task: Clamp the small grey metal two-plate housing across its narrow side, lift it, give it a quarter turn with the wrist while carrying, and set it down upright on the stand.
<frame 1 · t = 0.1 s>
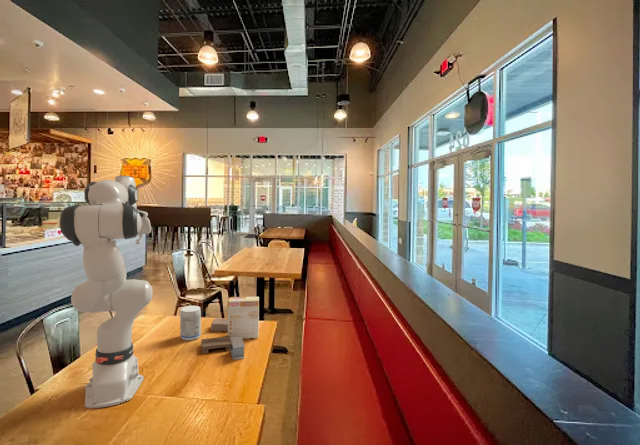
hand: (125, 244, 156), 48 cm above the table, fingers open, 8 cm apart
stand: (216, 347, 164), on the table
housing: (237, 355, 157), on the table
supplement tub: (190, 337, 175), on the table
coffeecake box: (243, 336, 178), on the table
brick: (228, 329, 187), on the table
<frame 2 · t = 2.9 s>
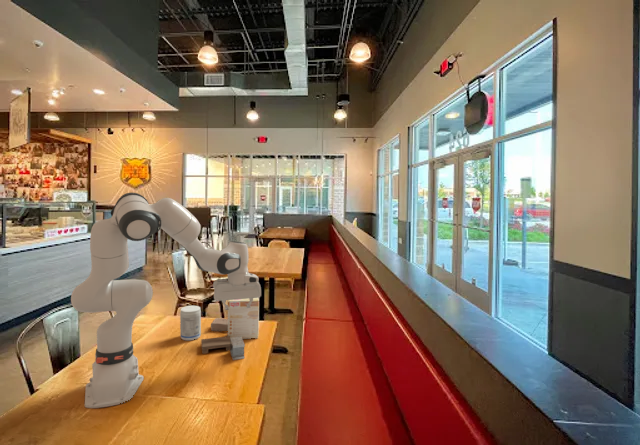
hand: (237, 308, 155), 21 cm above the table, fingers open, 8 cm apart
nothing on the table moved.
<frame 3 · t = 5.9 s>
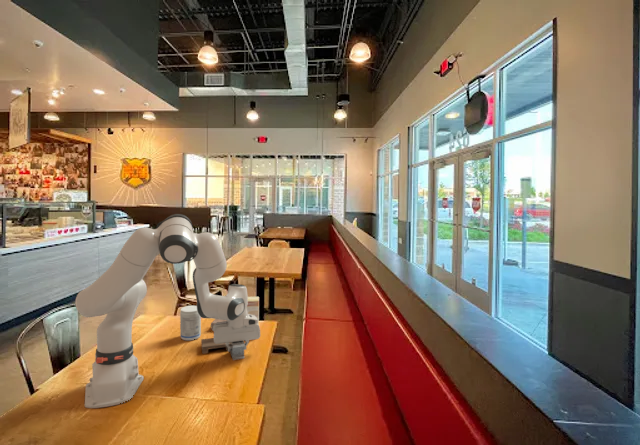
hand: (237, 350, 157), 2 cm above the table, fingers closed on housing, 5 cm apart
housing: (237, 354, 157), on the table, touching gripper
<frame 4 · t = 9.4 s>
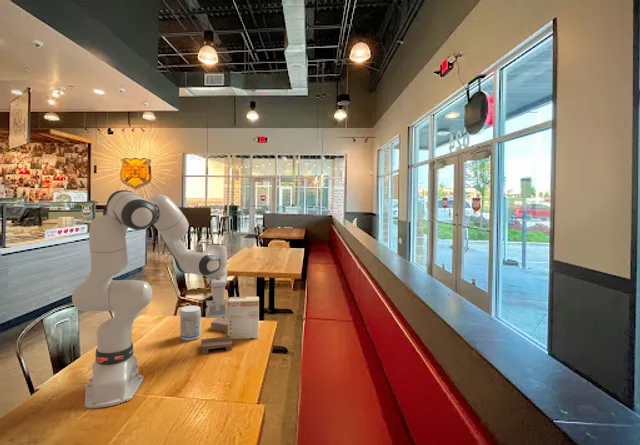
hand: (216, 308, 162), 19 cm above the table, fingers closed on housing, 5 cm apart
housing: (216, 315, 162), point 15 cm above the table, touching gripper
when the fingers open (7 cm above the table, at t = 12.5 s): housing stays where it is, resting on stand.
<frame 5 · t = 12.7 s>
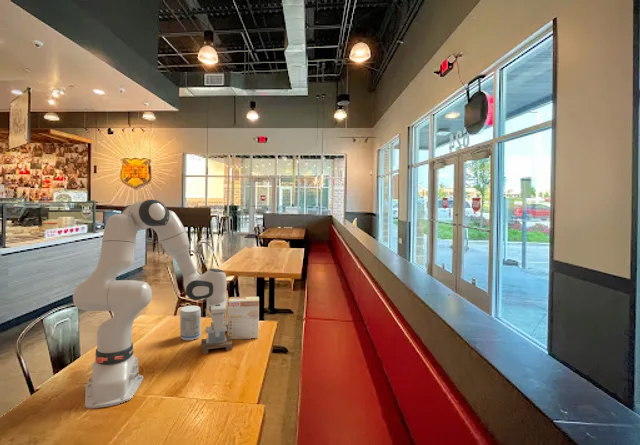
hand: (216, 332, 163), 7 cm above the table, fingers open, 6 cm apart
housing: (216, 341, 164), point 3 cm above the table, touching stand
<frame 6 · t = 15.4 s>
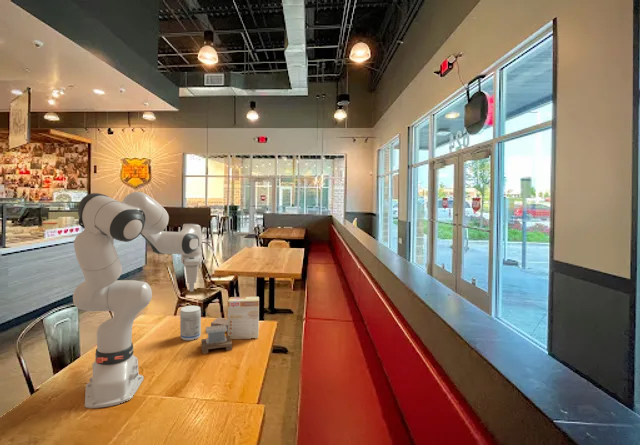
hand: (191, 288, 161), 28 cm above the table, fingers open, 8 cm apart
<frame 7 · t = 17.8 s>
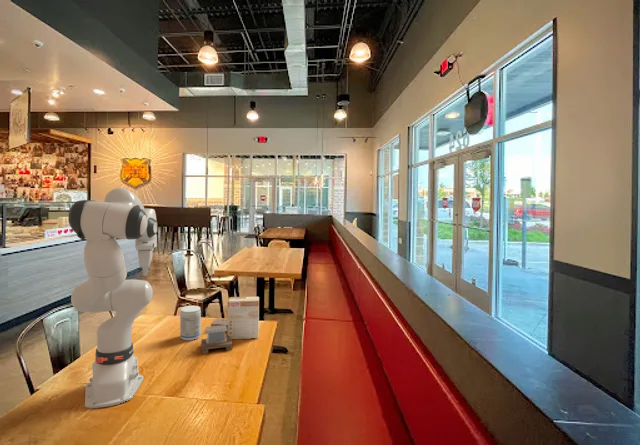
hand: (146, 273, 161), 34 cm above the table, fingers open, 8 cm apart
nothing on the table moved.
at the end: housing inside the target area on the stand (0.1 cm from its centre), point 3.0 cm above the stand's base; housing tilted 0°; the gripper is holding nothing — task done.
